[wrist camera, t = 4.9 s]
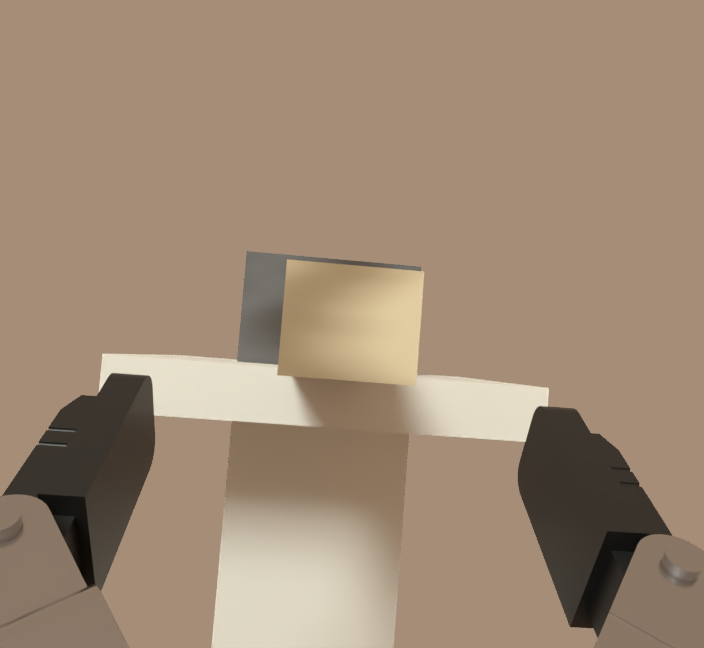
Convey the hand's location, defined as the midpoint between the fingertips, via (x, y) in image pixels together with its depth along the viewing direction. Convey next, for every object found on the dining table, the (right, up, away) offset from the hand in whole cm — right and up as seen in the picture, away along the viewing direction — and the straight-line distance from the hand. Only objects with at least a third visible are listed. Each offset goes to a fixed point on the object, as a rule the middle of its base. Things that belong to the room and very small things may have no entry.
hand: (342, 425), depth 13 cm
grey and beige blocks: (-1, 0, +11) cm, 11 cm away
